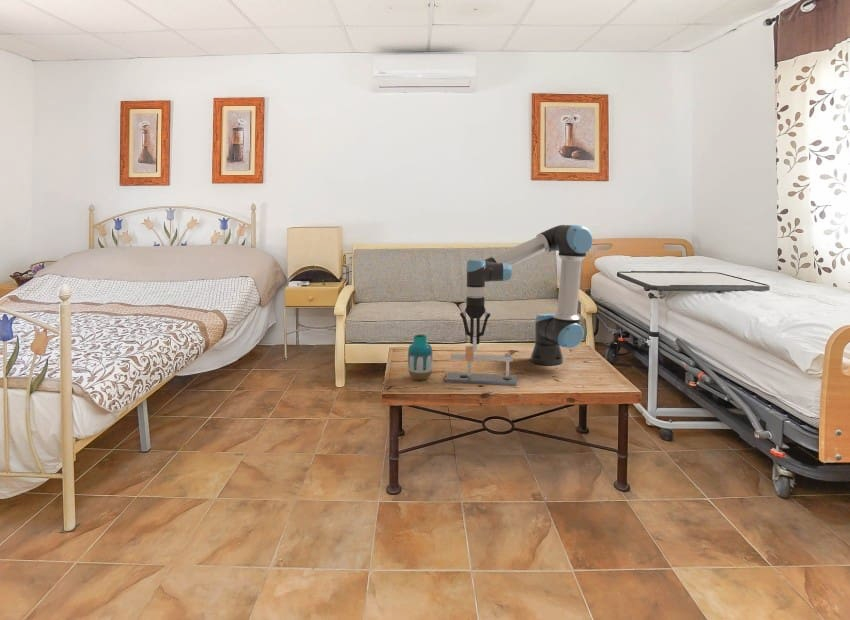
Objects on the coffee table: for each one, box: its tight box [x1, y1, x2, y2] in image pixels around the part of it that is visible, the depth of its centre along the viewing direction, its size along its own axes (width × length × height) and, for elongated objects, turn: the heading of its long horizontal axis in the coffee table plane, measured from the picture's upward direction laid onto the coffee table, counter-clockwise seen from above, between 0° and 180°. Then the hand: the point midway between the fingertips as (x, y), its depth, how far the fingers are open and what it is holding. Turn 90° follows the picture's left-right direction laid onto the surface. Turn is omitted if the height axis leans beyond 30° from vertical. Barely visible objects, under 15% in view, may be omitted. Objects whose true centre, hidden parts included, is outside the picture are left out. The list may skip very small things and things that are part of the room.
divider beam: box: [450, 352, 514, 379], centre depth 224 cm, size 26×3×11 cm, turn 80°
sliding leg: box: [465, 345, 474, 376], centre depth 225 cm, size 3×4×12 cm
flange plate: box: [444, 371, 518, 386], centre depth 225 cm, size 30×10×1 cm, turn 80°
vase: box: [407, 333, 434, 381], centre depth 226 cm, size 11×11×19 cm
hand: (474, 351), depth 224 cm, fingers closed
